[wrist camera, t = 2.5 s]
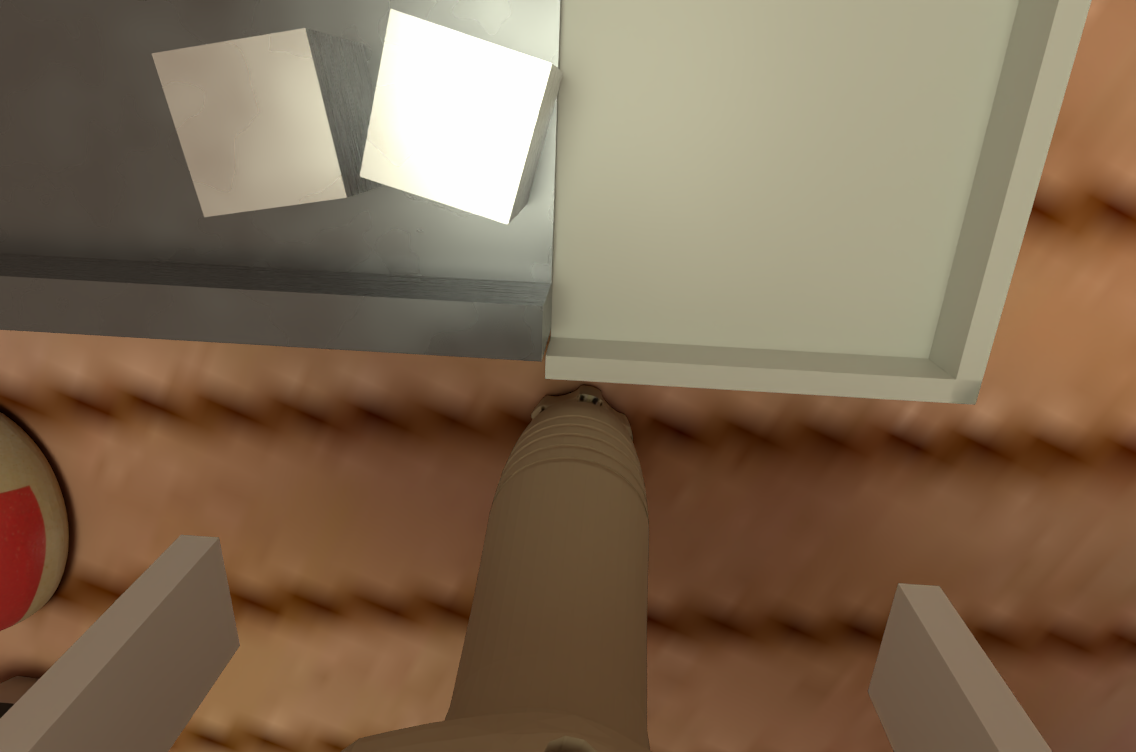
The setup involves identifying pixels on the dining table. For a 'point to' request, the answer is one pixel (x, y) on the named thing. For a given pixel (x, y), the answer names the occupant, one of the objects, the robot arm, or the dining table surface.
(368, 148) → the pale grey cube
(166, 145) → the rail
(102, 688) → the robot arm
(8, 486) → the ladybug figurine
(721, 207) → the tray
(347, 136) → the pale beige cube
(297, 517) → the dining table surface
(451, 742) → the handle
